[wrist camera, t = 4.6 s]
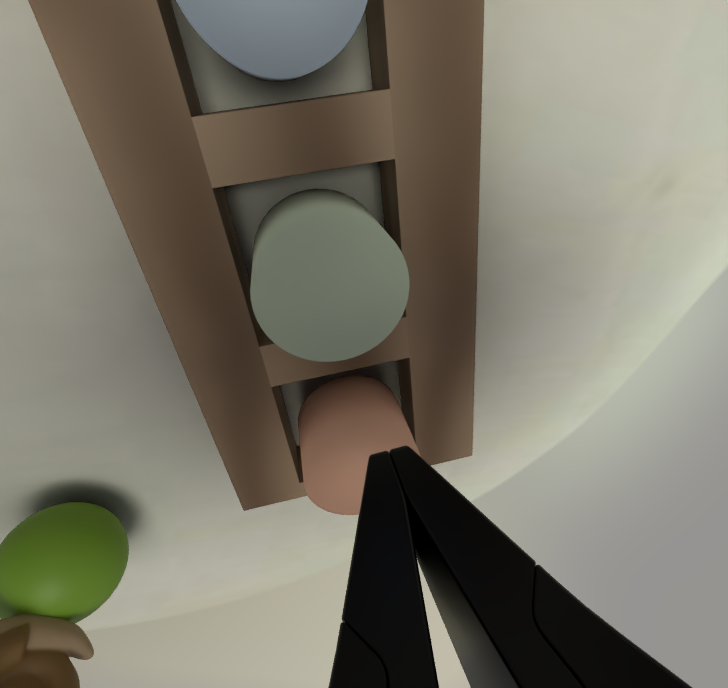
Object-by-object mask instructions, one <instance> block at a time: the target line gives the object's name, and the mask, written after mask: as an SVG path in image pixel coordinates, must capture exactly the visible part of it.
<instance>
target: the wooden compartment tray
mask: <svg viewBox="0 0 728 688" xmlns="http://www.w3.org/2000/svg"><path fill="white" fill-rule="evenodd" d="M28 1H29V3H30V6H31V8H32V10H33V13H34V15H35V18H36V20H37V22H38V25H39V27H40V29H41V32H42V34H43V37H44V39H45V41H46V44H47V46H48V48H49V51H50V53H51V55H52V58H53V60H54V63H55V65H56V67H57V70H58V72H59V74H60V77H61V79H62V82H63V84H64V86H65V89H66V91H67V93H68V96H69V98H70V100H71V103H72V105H73V108H74V110H75V112H76V115H77V117H78V119H79V122H80V124H81V126H82V129H83V131H84V134H85V136H86V138H87V141H88V143H89V145H90V148H91V150H92V153H93V155H94V157H95V160H96V162H97V164H98V167H99V169H100V171H101V174H102V176H103V179H104V181H105V183H106V186H107V188H108V190H109V193H110V195H111V198H112V200H113V202H114V205H115V207H116V209H117V212H118V214H119V216H120V219H121V221H122V224H123V226H124V228H125V231H126V233H127V235H128V238H129V240H130V242H131V245H132V247H133V250H134V252H135V254H136V257H137V259H138V261H139V264H140V266H141V269H142V271H143V273H144V276H145V278H146V280H147V283H148V285H149V287H150V290H151V292H152V295H153V297H154V299H155V302H156V304H157V306H158V309H159V311H160V313H161V316H162V318H163V321H164V323H165V325H166V328H167V330H168V332H169V335H170V337H171V340H172V342H173V344H174V347H175V349H176V351H177V354H178V356H179V358H180V361H181V363H182V366H183V368H184V370H185V373H186V375H187V377H188V380H189V382H190V385H191V387H192V389H193V392H194V394H195V396H196V399H197V401H198V403H199V406H200V408H201V411H202V413H203V415H204V418H205V420H206V422H207V425H208V427H209V429H210V432H211V434H212V437H213V439H214V441H215V444H216V446H217V448H218V451H219V453H220V456H221V458H222V460H223V463H224V465H225V467H226V470H227V472H228V474H229V477H230V479H231V482H232V484H233V486H234V489H235V491H236V493H237V496H238V498H239V500H240V503H241V505H242V508H243V510H244V511H245V510H249V509H253V508H257V507H261V506H265V505H270V504H274V503H278V502H282V501H286V500H290V499H294V498H298V497H303V496H307V493H306V491H305V488H304V482H303V471H302V461H301V450H300V446H299V447H296V444H295V440H294V436H293V433H292V429H291V426H290V422H289V419H288V415H287V412H286V408H285V405H284V401H283V398H282V394H281V390H280V387H279V385H283V384H288V383H292V382H297V381H302V380H307V379H311V378H316V377H321V376H325V375H330V374H335V373H339V372H344V371H349V370H353V369H358V368H363V367H368V366H372V365H377V364H382V363H386V362H391V361H396V360H397V361H398V372H399V383H400V394H401V405H402V413H403V415H404V418H405V420H406V422H407V425H408V427H409V429H410V432H411V434H412V436H413V439H414V441H415V443H416V446H417V448H418V450H419V453H420V456H421V457H422V458H423V459H424V460H425V461H426V462H427V463H428V464H429V465H435V464H439V463H443V462H447V461H451V460H455V459H459V458H463V457H468V456H472V444H473V407H474V369H475V331H476V293H477V255H478V217H479V179H480V142H481V104H482V66H483V28H484V0H368V1H367V5H366V8H365V11H366V22H367V33H368V44H369V55H370V66H371V77H372V87H373V90H367V91H360V92H353V93H346V94H339V95H332V96H325V97H318V98H311V99H304V100H297V101H289V102H282V103H275V104H268V105H261V106H254V107H247V108H240V109H233V110H226V111H219V112H212V113H205V114H202V111H201V107H200V104H199V100H198V97H197V93H196V90H195V86H194V83H193V79H192V76H191V72H190V69H189V65H188V61H187V58H186V54H185V51H184V47H183V44H182V40H181V37H180V33H179V30H178V26H177V23H176V19H175V15H174V12H173V8H172V5H171V1H170V0H28ZM373 162H379V164H380V175H381V186H382V197H383V208H384V219H385V230H386V232H387V233H388V235H389V236H390V237H391V238H392V239H393V240H394V242H395V243H396V244H397V246H398V247H399V249H400V250H401V252H402V254H403V256H404V259H405V261H406V264H407V268H408V273H409V296H408V301H407V304H406V308H405V310H404V313H403V315H402V317H401V319H400V320H399V322H398V324H397V325H396V327H395V328H394V329H393V331H392V332H391V333H390V334H389V335H388V336H387V337H386V338H385V339H384V340H383V341H382V342H381V343H379V344H378V345H377V346H375V347H374V348H372V349H371V350H369V351H367V352H365V353H363V354H361V355H358V356H356V357H353V358H350V359H346V360H341V361H333V362H320V361H312V360H307V359H303V358H300V357H297V356H295V355H292V354H290V353H288V352H286V351H285V350H283V349H281V348H280V347H279V346H277V345H276V344H275V343H274V342H273V341H272V340H271V339H270V338H269V337H268V336H267V335H266V334H265V333H264V331H263V330H262V328H261V327H260V325H259V323H258V321H257V320H256V317H255V314H254V312H253V308H252V303H251V295H250V286H251V284H250V281H249V277H248V274H247V270H246V267H245V263H244V260H243V256H242V252H241V249H240V245H239V242H238V238H237V235H236V231H235V228H234V224H233V221H232V217H231V214H230V210H229V207H228V203H227V199H226V196H225V192H224V189H223V186H229V185H236V184H242V183H248V182H254V181H261V180H267V179H273V178H279V177H286V176H292V175H298V174H304V173H310V172H317V171H323V170H329V169H335V168H342V167H348V166H354V165H360V164H367V163H373Z"/></svg>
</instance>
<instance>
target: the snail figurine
mask: <svg viewBox="0 0 728 688" xmlns="http://www.w3.org/2000/svg"><path fill="white" fill-rule="evenodd" d="M128 554H129V545H128V538H127V535H126V532H125V529H124V527H123V525H122V524H121V522H120V521H119V520H118V518H117V517H116V516H115V515H114V514H112V513H111V512H110V511H108V510H107V509H105V508H103V507H101V506H98V505H95V504H91V503H85V502H69V503H62V504H58V505H54V506H51V507H48V508H45V509H43V510H41V511H39V512H37V513H35V514H33V515H31V516H30V517H28V518H27V519H25V520H24V521H23V522H21V523H20V524H19V525H18V526H16V527H15V528H14V529H13V530H12V531H11V532H10V533H9V534H8V535H7V537H6V538H5V539H4V540H3V542H2V543H1V544H0V618H1V619H0V688H80V684H79V678H78V674H77V672H76V669H75V668H74V666H73V664H72V663H71V661H70V659H69V657H74V658H77V659H82V660H87V659H90V658H92V657H93V654H94V650H93V647H92V644H91V642H90V640H89V639H88V637H87V636H86V634H85V633H84V631H83V630H82V629H81V628H80V627H79V626H78V625H76V624H75V623H77V622H79V621H81V620H82V619H84V618H86V617H87V616H89V615H90V614H92V613H93V612H94V611H96V610H97V609H98V608H99V607H100V606H101V605H102V604H103V603H104V602H105V601H106V600H107V599H108V598H109V597H110V596H111V594H112V593H113V592H114V590H115V589H116V587H117V586H118V584H119V582H120V580H121V578H122V576H123V574H124V571H125V569H126V565H127V561H128Z"/></svg>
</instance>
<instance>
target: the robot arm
mask: <svg viewBox="0 0 728 688" xmlns="http://www.w3.org/2000/svg"><path fill="white" fill-rule="evenodd" d="M417 559H418V562H419V564H420V567H421V570H422V572H423V574H424V577H425V579H426V581H427V584H428V586H429V589H430V591H431V593H432V596H433V598H434V600H435V603H436V605H437V608H438V610H439V612H440V615H441V617H442V620H443V622H444V624H445V627H446V629H447V631H448V634H449V636H450V639H451V641H452V643H453V646H454V648H455V650H456V653H457V655H458V658H459V660H460V662H461V665H462V667H463V669H464V672H465V674H466V677H467V679H468V682H469V684H470V686H471V688H692V687H691V686H689V685H688V684H687V683H686V682H684V681H683V680H682V679H680V678H679V677H678V676H676V675H675V674H674V673H672V672H671V671H670V670H668V669H667V668H666V667H664V666H663V665H662V664H660V663H659V662H658V661H656V660H655V659H654V658H652V657H651V656H650V655H648V654H647V653H646V652H644V651H643V650H642V649H641V648H639V647H638V646H637V645H635V644H634V643H632V642H631V641H630V640H629V639H627V638H626V637H625V636H623V635H622V634H621V633H619V632H618V631H617V630H616V629H614V628H613V627H612V626H610V625H609V624H608V623H607V622H605V621H604V620H603V619H602V618H600V617H599V616H598V615H597V614H595V613H594V612H593V611H591V610H590V609H589V608H587V607H586V606H585V605H584V604H583V603H582V602H581V601H579V600H578V599H577V598H576V597H575V596H574V595H572V594H571V593H570V592H569V591H568V590H567V589H565V588H564V587H563V586H562V585H561V584H560V583H558V581H556V580H555V579H554V578H553V577H552V576H551V575H550V574H549V573H548V572H546V571H545V570H544V569H543V568H542V567H541V566H540V565H536V563H535V561H534V560H533V559H532V558H531V557H530V556H529V555H528V554H527V553H525V552H524V551H523V550H522V549H521V548H520V547H519V546H518V545H517V544H516V543H515V542H513V541H512V540H511V539H510V538H509V537H508V536H507V535H506V534H505V533H504V532H502V531H501V530H500V529H499V528H498V527H497V526H496V525H495V524H494V523H492V521H490V520H489V519H488V518H487V517H486V516H485V515H484V514H483V513H482V512H481V511H480V510H478V509H477V508H476V507H475V506H474V505H473V504H472V503H471V502H470V501H469V500H467V499H466V498H465V497H464V496H463V495H462V494H461V493H460V492H459V491H458V490H457V489H455V488H454V487H453V486H452V485H451V484H450V483H449V482H448V481H447V480H446V479H445V478H443V477H442V476H441V475H440V474H439V473H438V472H437V471H436V470H435V469H434V468H432V467H431V466H430V465H429V464H428V463H427V462H426V461H425V460H424V459H423V458H422V457H420V456H419V455H418V454H417V453H416V452H415V451H414V450H413V449H412V448H410V447H409V446H401V447H398V448H394V449H391V450H390V452H388V451H382V452H379V453H375V454H371V455H370V456H369V459H368V465H367V471H366V477H365V483H364V489H363V495H362V501H361V507H360V512H359V518H358V524H357V530H356V536H355V542H354V548H353V554H352V560H351V567H350V572H349V578H348V584H347V590H346V596H345V602H344V608H343V614H342V621H343V623H341V625H340V630H339V636H338V642H337V648H336V654H335V658H334V663H333V668H332V673H331V679H330V683H329V688H439V685H438V680H437V673H436V667H435V662H434V657H433V650H432V645H431V639H430V633H429V627H428V621H427V615H426V610H425V604H424V598H423V592H422V586H421V581H420V575H419V569H418V564H417ZM535 566H536V567H535Z"/></svg>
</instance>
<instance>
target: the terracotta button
mask: <svg viewBox="0 0 728 688" xmlns="http://www.w3.org/2000/svg"><path fill="white" fill-rule="evenodd" d="M298 429H299V440H300V450H301V461H302V471H303V482H304V488H305V491H306V493H307V495H308V497H309V498H310V500H311V501H312V502H313V503H314V504H316V505H317V506H318V507H320V508H322V509H324V510H326V511H329V512H332V513H336V514H342V515H358V514H359V512H360V507H361V501H362V495H363V489H364V483H365V477H366V471H367V465H368V459H369V456H370V455H371V454H375V453H379V452H382V451H388V452H390V450H391V449H394V448H398V447H401V446H409V447H410V448H412V449H413V450H414V451H415V452H416V453H417V454H418V455H419V456H420V453H419V450H418V448H417V446H416V443H415V441H414V439H413V436H412V434H411V432H410V429H409V427H408V425H407V422H406V420H405V418H404V415H403V413H402V411H401V408H400V406H399V404H398V401H397V399H396V397H395V395H394V393H393V392H392V391H391V389H390V388H389V387H387V386H386V385H385V384H383V383H382V382H380V381H378V380H376V379H373V378H369V377H364V376H347V377H341V378H338V379H334V380H332V381H329V382H327V383H325V384H323V385H321V386H320V387H318V388H317V389H316V390H315V391H313V392H312V393H311V394H310V395H309V396H308V397H307V399H306V400H305V401H304V403H303V405H302V407H301V409H300V412H299V416H298ZM420 457H421V456H420Z"/></svg>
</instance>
